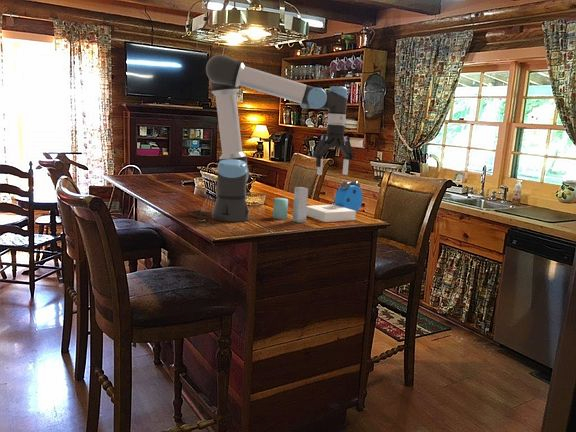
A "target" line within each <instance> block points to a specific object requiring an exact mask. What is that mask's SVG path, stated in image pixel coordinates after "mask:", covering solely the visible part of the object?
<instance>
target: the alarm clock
mask: <svg viewBox="0 0 576 432" xmlns="http://www.w3.org/2000/svg"><path fill="white" fill-rule="evenodd" d="M363 199H364V197H363V192H362V189H361V183H360V182H359V181H358V180H351V181H350V182H349V181H347V180H345V181H341V182H340V185H339V187H338V189H337V191H336V192H335V195H334V205H338V206H341V207H344V208H348V209H351V210H354V211H356V213H357V212H358V211H359V210H360V208H361V207H362V204H363Z"/></svg>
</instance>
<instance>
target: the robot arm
mask: <svg viewBox="0 0 576 432" xmlns="http://www.w3.org/2000/svg"><path fill="white" fill-rule="evenodd" d="M205 72H206V73H205V74H206V76H207V77H208V79H209V84H210V93H211V94H212V95H214V96H215V102H216V111H217V112H216V113H217V119H218V130H219V138H220V147H221V155H220V157H219V158H218V159H219V160H218V161H219V162H218V163H217V168H216V170H217V175H216V176H217V180H216V181H217V182H216V183H217V184H216V200H215V203H214V205H213V208H212V212H211V218H212V219H213V220H215V221H219V222H230V223H232V222H233V223H235V222H236V223H237V222H245V221H248V220H250V212H249V211H250V210H249V208H248V204H247V199H246V198H247V197H246V195H247V182H248V180H249V178H250V169H249V166H248V159H247V155H246V153H244V152H243V146H242V145H243V143H242V138H241V137H242V136H241V126H240V118H239V109H238V100H237V94H238V92H239V91H240V87H244V88H247V89H251V90H254V91H258V92H261V93H264V94H268V95H270V96H274V97H277V98H280V99H284V100H288V101H291V102H294V103H298V104H299V105H300V108H302V109H308V110H309V109H312V110H313V109H314V110H328V111H327V127H326V135H324V134H322V135H320V138H319V141H318V144H317V146H316V147H315V150H314V152H313V154H312V158H315V159H316V163H315V166H316V167H317V168H316V175H318V176H322V175H323V163H324V159H323V157H324V156H325V155H326V153H327V152H328V151H329V149H331V148H332V147H333V148H334V147H336V148H338V149H339V150H340V152H341V154H342V155H343V157H344V159H343V162H342V163H343V164H342V175H345V176H348V175H349V167H350V165H351V160H353V159H354V158H355V155H354V151H353V148H352V144H351V140H350V139H351V136H344V135H345V134H346V133H345V131H346V126H345V124H346V120H347V119H346V117H347V106H348V105H347V104H348V88H347V87H345V86H337V85H336V86H335V85H334V86H330V87H329V90H324V89H323V88H322V87H315V86H311V85H307V84H306V83H305V84H304V83H301V82H299V81H295V80H292V79H289V78H286V77H283V76H280V75H276V74H272V73H269V72H266V71H262V70H260V69H256V68H254V67H253V68H252V67H251V66H246V65H245V64H244V62H242V61H239V60H236V59H234V58H232V57H230V56H227V55H225V54H216V55H214V56H212V57H211V58H209V59H208V60H207V63H206V67H205Z"/></svg>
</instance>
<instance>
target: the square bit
mask: <svg viewBox="0 0 576 432" xmlns="http://www.w3.org/2000/svg"><path fill="white" fill-rule="evenodd" d="M308 197H309V188H308V187H304V186H297V187H296V186H294V192H293V210H292V222H294V223H298V224H300V223H307V216H306V214H307V206H308Z"/></svg>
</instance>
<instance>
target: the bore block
mask: <svg viewBox="0 0 576 432" xmlns="http://www.w3.org/2000/svg"><path fill="white" fill-rule="evenodd" d="M356 215H357V212H356V211H354V210H351V209H348V208H344V207H341V206H338V205H335V204H316V205H307V214H306V217H310V218H312V219H315V220H317V221H321V222H323V223H330V222H331V223H332V222H334V223H335V222H345V221H346V222H348V221H356V218H357V217H356Z"/></svg>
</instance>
